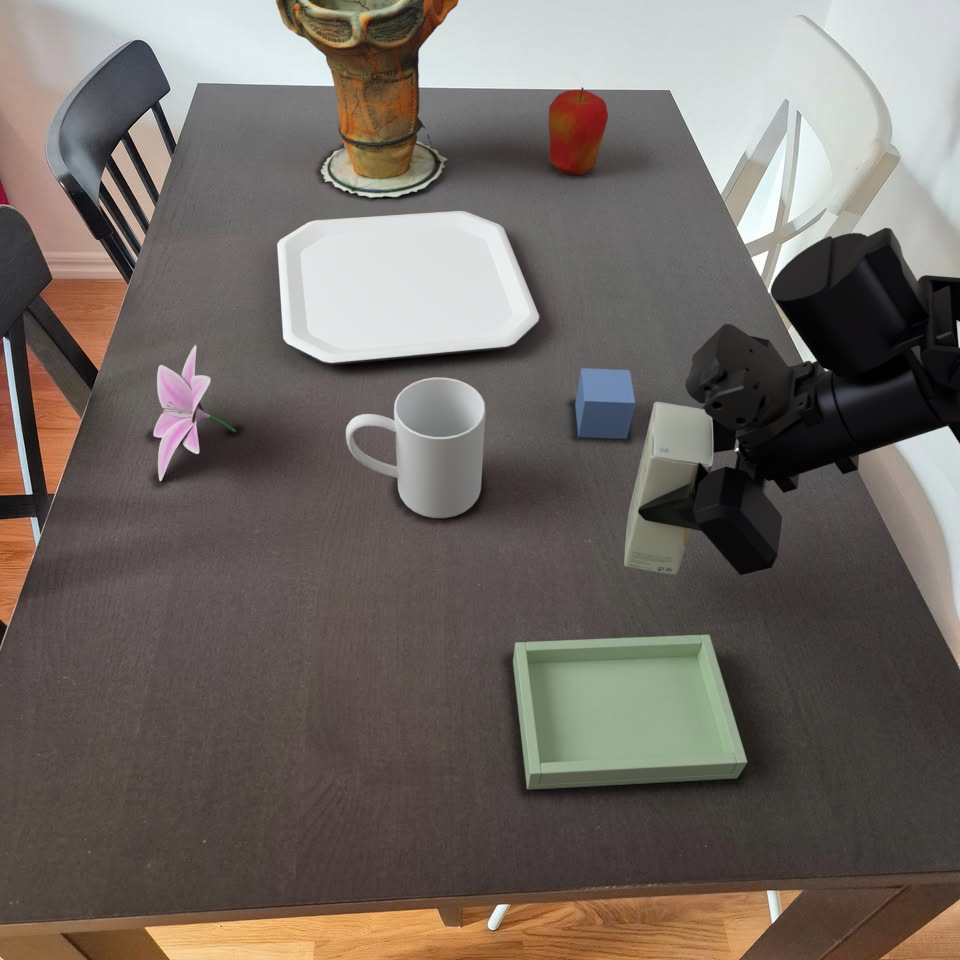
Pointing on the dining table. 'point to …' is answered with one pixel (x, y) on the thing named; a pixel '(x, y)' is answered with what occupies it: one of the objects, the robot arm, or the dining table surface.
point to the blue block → (604, 403)
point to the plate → (401, 288)
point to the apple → (576, 130)
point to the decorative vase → (374, 87)
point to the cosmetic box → (666, 483)
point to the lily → (180, 410)
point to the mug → (432, 446)
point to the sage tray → (624, 712)
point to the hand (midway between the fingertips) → (650, 482)
